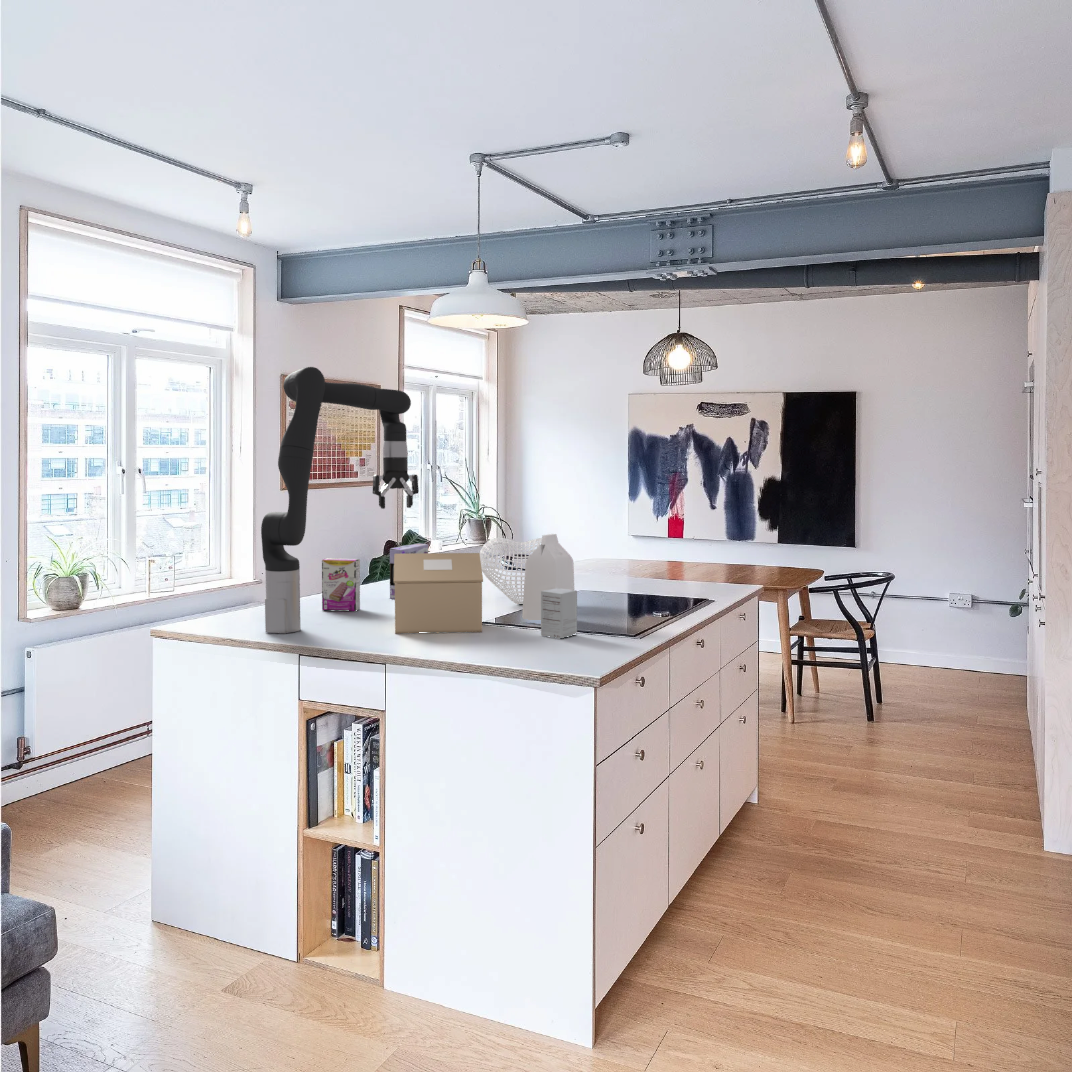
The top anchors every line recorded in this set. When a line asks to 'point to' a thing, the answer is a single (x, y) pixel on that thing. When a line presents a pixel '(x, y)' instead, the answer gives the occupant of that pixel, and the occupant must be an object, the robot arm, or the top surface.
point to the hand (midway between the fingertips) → (395, 508)
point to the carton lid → (437, 567)
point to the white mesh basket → (485, 571)
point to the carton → (438, 607)
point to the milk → (546, 574)
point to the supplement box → (558, 612)
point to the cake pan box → (403, 550)
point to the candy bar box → (340, 584)
